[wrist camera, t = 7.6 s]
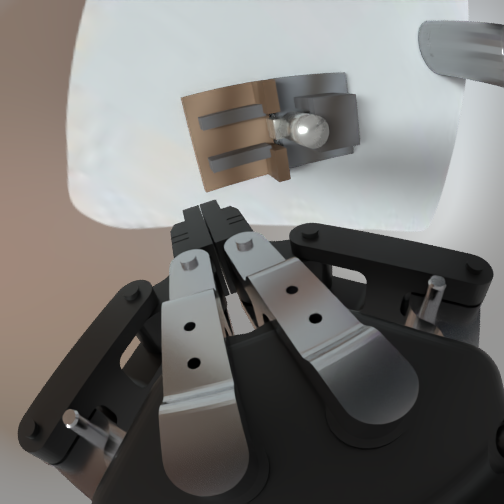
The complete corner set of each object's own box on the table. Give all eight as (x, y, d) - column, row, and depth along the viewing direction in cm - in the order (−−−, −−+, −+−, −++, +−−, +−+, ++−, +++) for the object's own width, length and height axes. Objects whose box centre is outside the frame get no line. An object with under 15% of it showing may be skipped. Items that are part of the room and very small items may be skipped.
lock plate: (340, 72, 27) (368, 72, 23) (348, 151, 32) (374, 161, 28) (180, 97, 24) (186, 97, 20) (204, 189, 29) (214, 206, 25)
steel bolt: (332, 103, 27) (366, 108, 22) (335, 128, 29) (368, 138, 24) (265, 113, 26) (291, 118, 21) (270, 141, 27) (296, 153, 23)
